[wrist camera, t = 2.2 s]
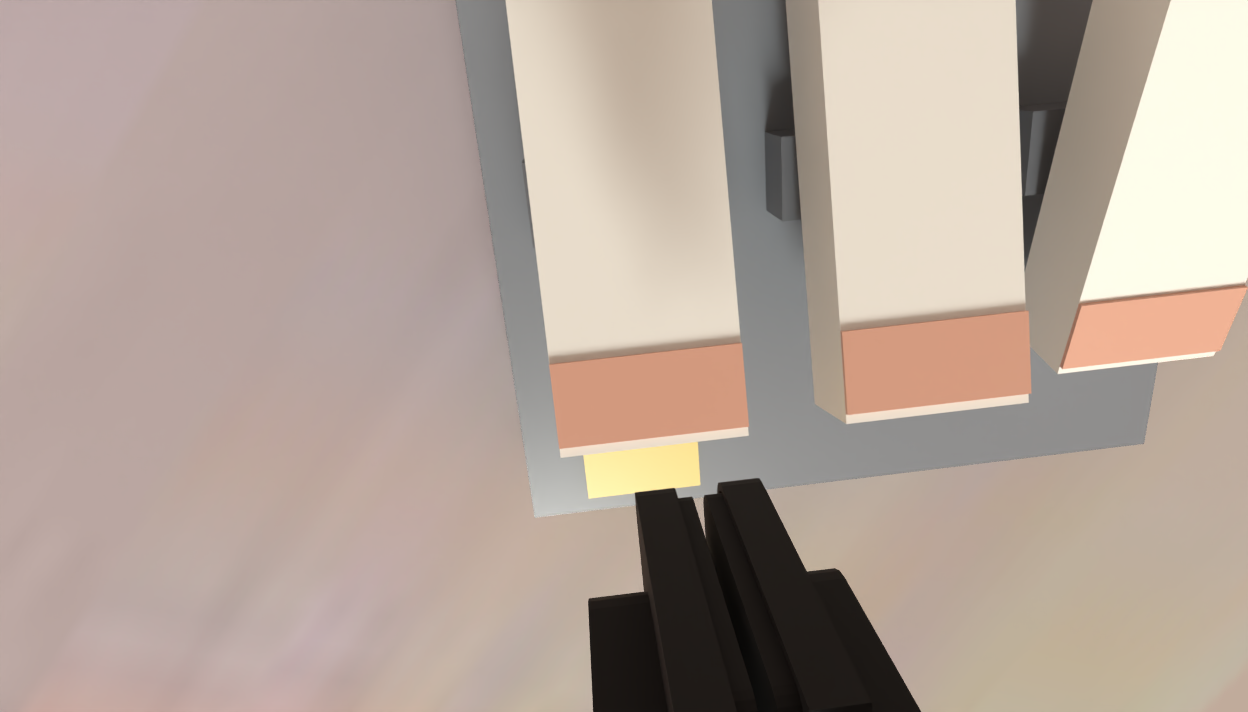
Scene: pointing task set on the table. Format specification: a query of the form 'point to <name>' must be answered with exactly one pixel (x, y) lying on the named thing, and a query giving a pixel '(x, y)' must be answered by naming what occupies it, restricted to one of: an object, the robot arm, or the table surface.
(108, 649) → the table surface
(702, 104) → the rocker
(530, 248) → the switch unit
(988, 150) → the rocker
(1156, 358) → the block
